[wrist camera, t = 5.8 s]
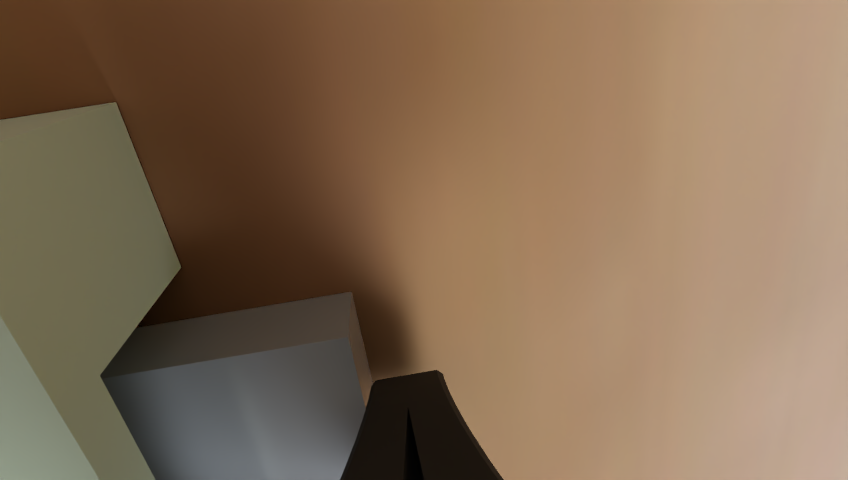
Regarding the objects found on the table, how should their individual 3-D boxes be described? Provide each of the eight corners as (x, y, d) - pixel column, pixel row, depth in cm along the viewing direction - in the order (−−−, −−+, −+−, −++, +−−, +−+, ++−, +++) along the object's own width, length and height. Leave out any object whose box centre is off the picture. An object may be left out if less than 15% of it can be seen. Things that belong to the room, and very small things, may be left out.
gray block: (352, 279, 10) (347, 337, 8) (391, 452, 12) (395, 528, 10) (8, 336, 10) (-73, 408, 8) (110, 501, 12) (63, 587, 10)
